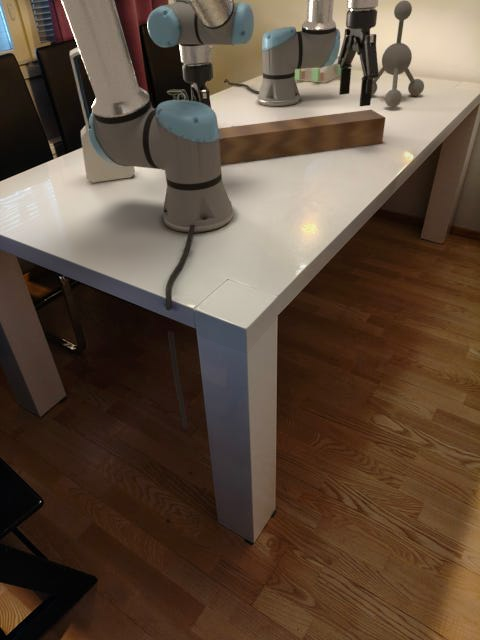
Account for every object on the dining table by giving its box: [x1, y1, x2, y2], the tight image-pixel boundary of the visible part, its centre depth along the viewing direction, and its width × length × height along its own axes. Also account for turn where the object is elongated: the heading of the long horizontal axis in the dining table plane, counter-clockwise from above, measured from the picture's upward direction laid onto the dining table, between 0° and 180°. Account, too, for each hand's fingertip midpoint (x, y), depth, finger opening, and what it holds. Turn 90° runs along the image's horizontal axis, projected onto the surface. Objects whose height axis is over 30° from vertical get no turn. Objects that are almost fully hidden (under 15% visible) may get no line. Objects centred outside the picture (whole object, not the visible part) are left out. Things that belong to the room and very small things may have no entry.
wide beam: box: [218, 109, 386, 166], centre depth 136 cm, size 59×9×7 cm, turn 104°
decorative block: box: [295, 55, 343, 84], centre depth 207 cm, size 26×6×20 cm
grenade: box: [166, 89, 189, 101], centre depth 162 cm, size 7×6×10 cm
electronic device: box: [69, 46, 136, 184], centre depth 120 cm, size 12×8×30 cm, turn 105°
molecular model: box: [371, 0, 425, 108], centre depth 166 cm, size 24×22×30 cm
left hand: (205, 148), depth 133 cm, fingers open, 13 cm apart
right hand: (354, 99), depth 135 cm, fingers open, 13 cm apart
